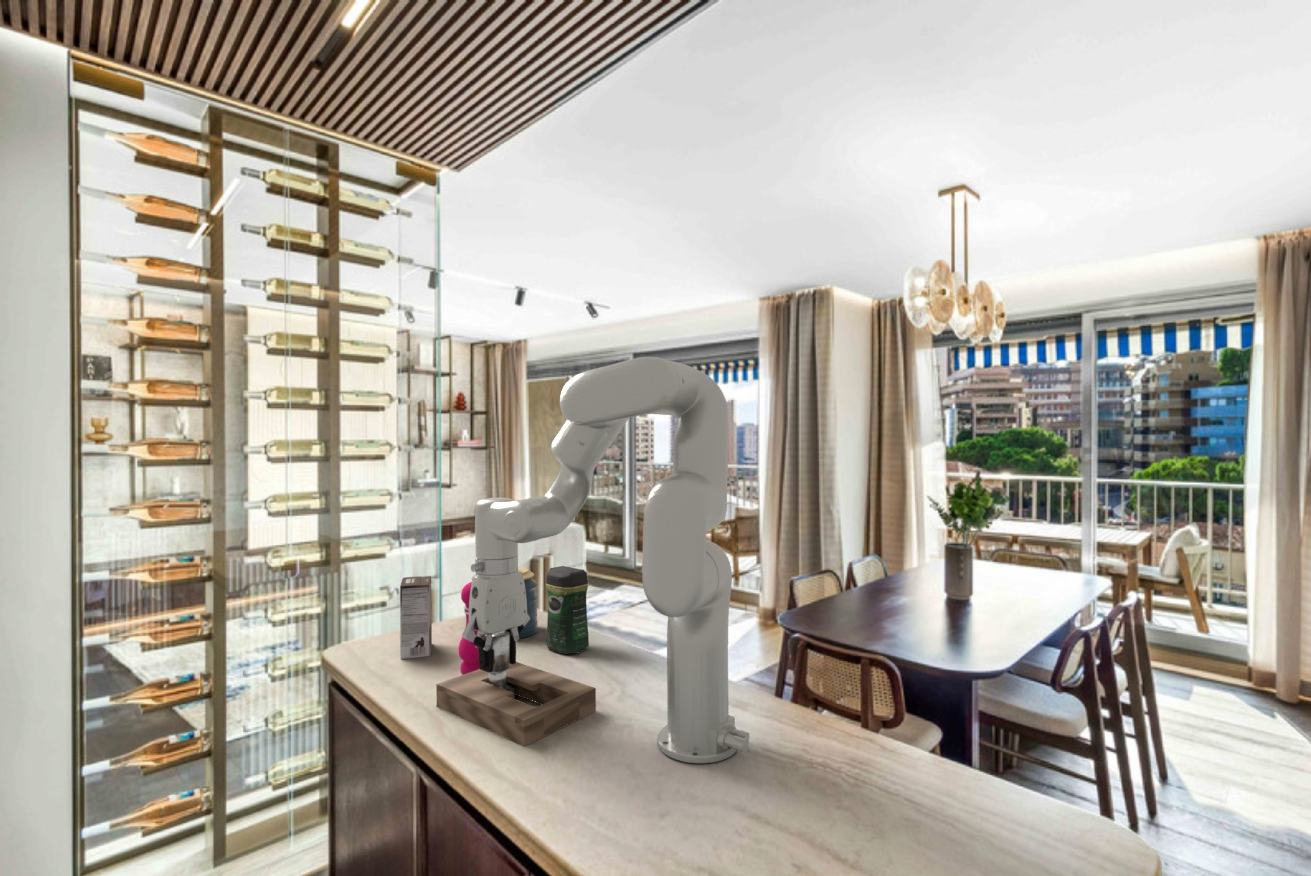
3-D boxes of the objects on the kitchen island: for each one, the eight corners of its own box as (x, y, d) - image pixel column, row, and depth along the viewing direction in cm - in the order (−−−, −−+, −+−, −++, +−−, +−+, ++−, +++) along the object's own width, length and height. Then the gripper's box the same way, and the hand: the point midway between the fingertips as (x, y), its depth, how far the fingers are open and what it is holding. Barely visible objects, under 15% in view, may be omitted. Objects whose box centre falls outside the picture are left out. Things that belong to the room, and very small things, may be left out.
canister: (545, 634, 153) (545, 562, 153) (493, 644, 146) (493, 568, 146) (527, 621, 164) (526, 554, 164) (477, 630, 157) (477, 559, 157)
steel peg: (521, 698, 115) (521, 633, 115) (494, 710, 110) (494, 641, 110) (500, 691, 118) (500, 627, 118) (473, 701, 114) (473, 635, 114)
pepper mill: (499, 664, 133) (499, 570, 133) (487, 677, 126) (486, 578, 126) (466, 663, 133) (466, 570, 134) (452, 676, 126) (451, 577, 126)
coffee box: (402, 646, 145) (402, 576, 145) (432, 643, 147) (432, 574, 147) (399, 659, 136) (398, 585, 136) (430, 656, 138) (430, 583, 138)
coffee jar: (594, 648, 143) (594, 567, 143) (567, 657, 137) (567, 572, 137) (567, 639, 149) (566, 561, 149) (540, 648, 143) (540, 567, 143)
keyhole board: (595, 710, 110) (595, 687, 110) (524, 746, 97) (524, 720, 97) (508, 679, 125) (508, 659, 125) (436, 706, 112) (436, 683, 112)
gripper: (470, 576, 105) (470, 685, 105) (545, 561, 118) (546, 657, 118) (444, 571, 110) (445, 675, 110) (520, 556, 123) (520, 649, 123)
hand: (497, 665), depth 114 cm, fingers closed on steel peg, 4 cm apart
